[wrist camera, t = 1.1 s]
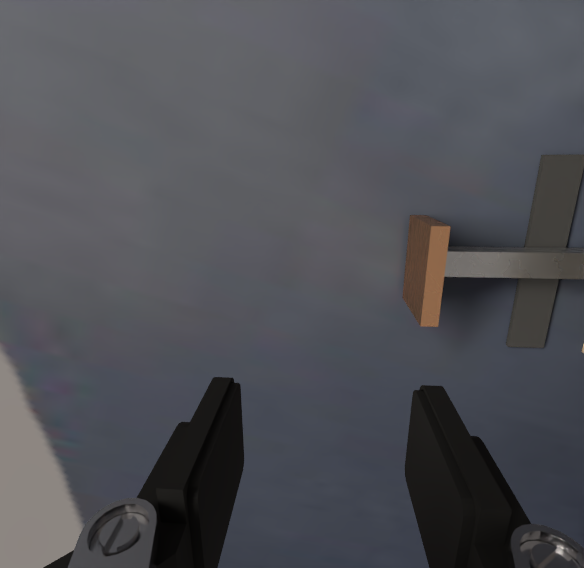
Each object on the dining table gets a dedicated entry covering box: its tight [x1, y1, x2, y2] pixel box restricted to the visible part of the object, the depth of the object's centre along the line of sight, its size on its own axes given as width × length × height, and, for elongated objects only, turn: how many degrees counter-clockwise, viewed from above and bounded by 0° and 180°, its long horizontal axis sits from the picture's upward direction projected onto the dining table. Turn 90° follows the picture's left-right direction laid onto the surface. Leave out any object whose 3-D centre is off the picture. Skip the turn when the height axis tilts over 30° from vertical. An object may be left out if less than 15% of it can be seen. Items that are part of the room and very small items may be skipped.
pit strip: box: [506, 155, 584, 348], centre depth 30 cm, size 16×3×1 cm, turn 0°
